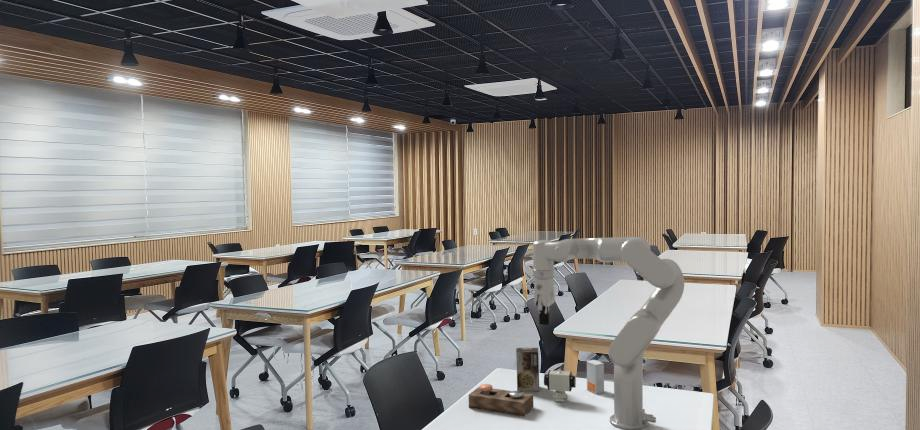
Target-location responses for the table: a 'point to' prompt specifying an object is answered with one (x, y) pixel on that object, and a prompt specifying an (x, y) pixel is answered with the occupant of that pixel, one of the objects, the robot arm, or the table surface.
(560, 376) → the pneumatic valve
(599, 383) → the skincare box
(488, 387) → the terracotta plug
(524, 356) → the coffee box
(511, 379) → the table surface
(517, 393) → the steel plug
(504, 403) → the plug box
